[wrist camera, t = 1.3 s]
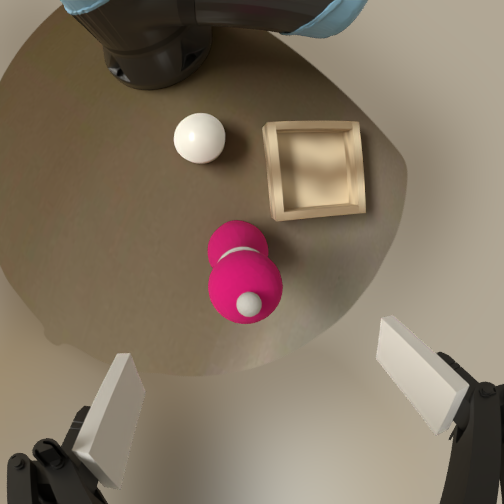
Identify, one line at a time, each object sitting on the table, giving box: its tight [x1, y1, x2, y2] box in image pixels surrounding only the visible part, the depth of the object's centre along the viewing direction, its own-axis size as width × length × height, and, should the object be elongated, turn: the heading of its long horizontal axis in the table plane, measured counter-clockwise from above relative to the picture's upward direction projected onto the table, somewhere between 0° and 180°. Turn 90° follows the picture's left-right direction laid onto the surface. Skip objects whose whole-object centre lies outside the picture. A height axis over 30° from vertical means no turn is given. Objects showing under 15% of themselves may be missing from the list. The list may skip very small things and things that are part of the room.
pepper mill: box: [208, 220, 283, 324], centre depth 29 cm, size 7×7×20 cm
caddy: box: [262, 121, 366, 221], centre depth 35 cm, size 12×12×4 cm
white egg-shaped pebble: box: [174, 113, 225, 164], centre depth 32 cm, size 6×6×4 cm
